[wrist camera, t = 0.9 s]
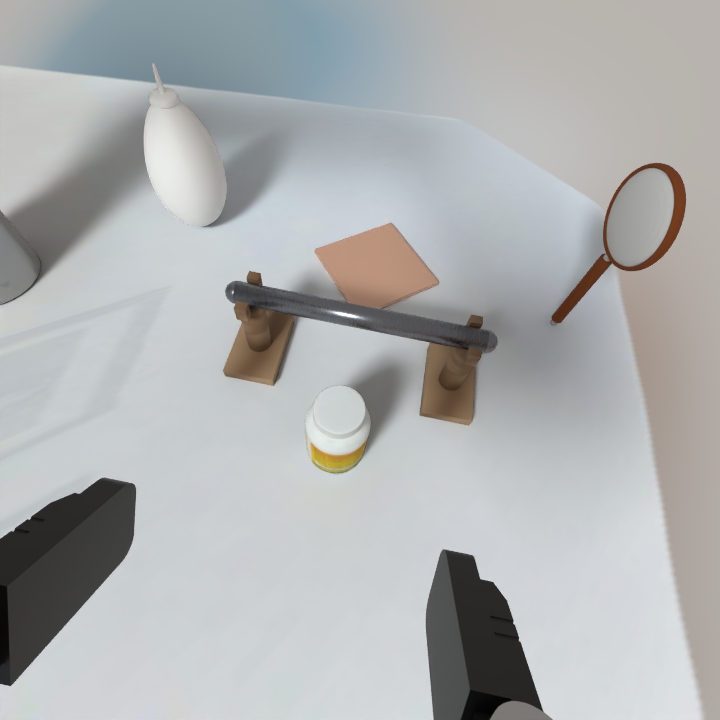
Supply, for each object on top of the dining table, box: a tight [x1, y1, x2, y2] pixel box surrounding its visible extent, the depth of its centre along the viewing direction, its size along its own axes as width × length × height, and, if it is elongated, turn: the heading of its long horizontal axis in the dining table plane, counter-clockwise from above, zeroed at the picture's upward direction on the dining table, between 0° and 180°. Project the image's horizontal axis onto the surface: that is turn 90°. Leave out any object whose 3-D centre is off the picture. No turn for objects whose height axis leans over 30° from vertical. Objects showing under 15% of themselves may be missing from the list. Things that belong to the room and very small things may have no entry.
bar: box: [225, 281, 497, 353], centre depth 37 cm, size 24×2×2 cm, turn 80°
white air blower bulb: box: [144, 63, 227, 227], centre depth 46 cm, size 8×8×18 cm
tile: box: [315, 223, 439, 309], centre depth 51 cm, size 11×11×1 cm
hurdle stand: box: [223, 271, 483, 425], centre depth 40 cm, size 25×8×10 cm, turn 80°
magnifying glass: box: [551, 163, 686, 325], centre depth 41 cm, size 9×2×20 cm, turn 1°
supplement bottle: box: [305, 385, 371, 474], centre depth 36 cm, size 5×5×10 cm
